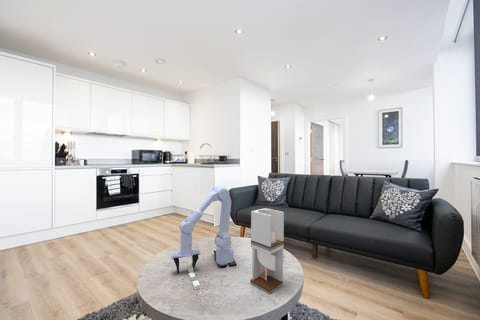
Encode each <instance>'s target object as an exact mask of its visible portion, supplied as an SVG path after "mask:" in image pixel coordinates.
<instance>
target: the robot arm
mask: <svg viewBox="0 0 480 320" xmlns="http://www.w3.org/2000/svg"><path fill="white" fill-rule="evenodd" d="M230 194H231V193H230V191H229V190H228V189H227V188H224V187H221V186H220V187H219V186H214V187H212V189H211V190H210V191H209V192H208V193H207V196H206V197H205V199H204V200H203V201H202V202H201V204H200V205H199V207H198V208H195V209H193V210H191V211H190V213H189V215H188V216H187V217H185V219H184V220H183V221H181V222H180V224H179V225H178V229H179V230H180V244H179V245H180V250H179V252H176V253H172V254H170V255H171V256H170V259H171V260H172V261H173V262H174V264H175V267H176V273H177V274H179V273H180V259H182V258H190V257H191V261H192V262H191V265H192V267H193V271H194V270H195V268H196V265H197V262H198V260H199V256H201V251H200V250H199V249H198V250H192V248H193V244H192V243H193V232H194V230H195V226H196V225H197V224H198V222H199V221H200V220H201V219H202V217H203V215H204V212H205V211H206V209H208V207H210V205H211V204H212V203H214V202H218V201H219V202H220V204H221V208H220V216H219V217H220V219H219V227H218V228H219V229H218V231H217V232H216V236H215V237H214V244H215V246H216V247H215V248H216V253H215V254H216V255H215V259H216V260H215V261H216V264H218V265H227V264H230V263H234V250H233V247H232V240H231V235H230V233H229V232H230V230H229V228H230V221H231V219H230V218H231V210H232V198H231V196H230Z"/></svg>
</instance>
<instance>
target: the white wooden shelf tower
mask: <svg viewBox="0 0 480 320" xmlns="http://www.w3.org/2000/svg"><path fill="white" fill-rule="evenodd" d="M250 213H251V214H250V217H251V218H250V220H251V221H250V248H251V250H252V252H251V253H252V254H251V255H252V256H251V258H252V259H251V279H250V280H249V281H250V285H251V286H253V287H254V288H256V289H258V290H260V291H262V292H263V293H266V294H267V295H270V294H272V293H274V292H275V291H276V290H278V289H280V288H281V287H283V286H284V246H285V245H284V241H285V239H284V237H285V235H284V232H285V230H284V228H285V222H284V221H285V212H284V211H281V210H276V209H272V208H264V207H263V208H260V209H256V210H251V212H250ZM282 285H283V286H282Z"/></svg>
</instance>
